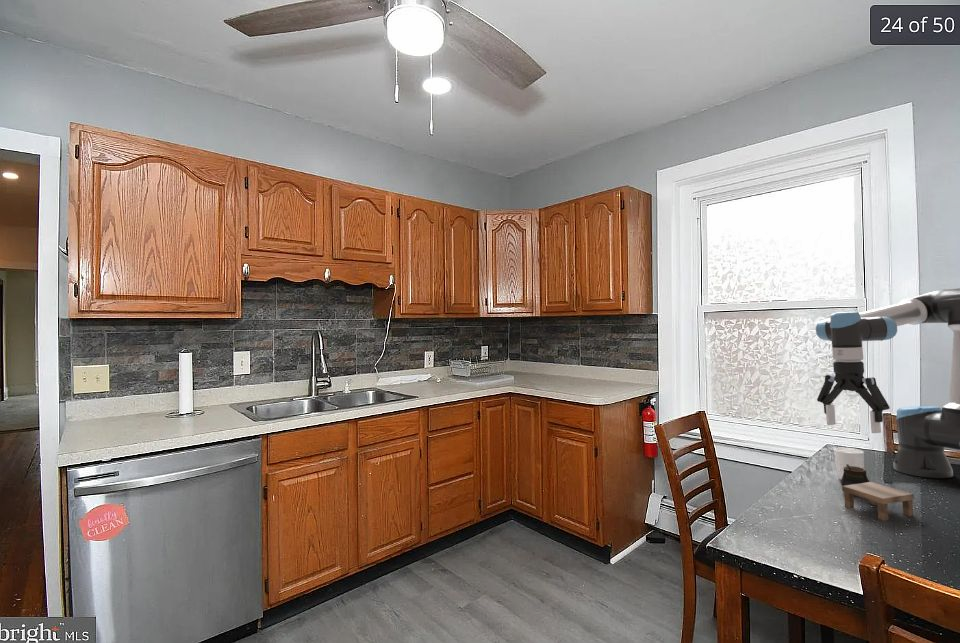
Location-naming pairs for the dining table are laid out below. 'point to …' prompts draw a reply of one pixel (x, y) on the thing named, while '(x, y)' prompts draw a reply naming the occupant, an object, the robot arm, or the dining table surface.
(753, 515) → the dining table surface
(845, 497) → the walnut stool
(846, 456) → the white cup
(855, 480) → the mate gourd
